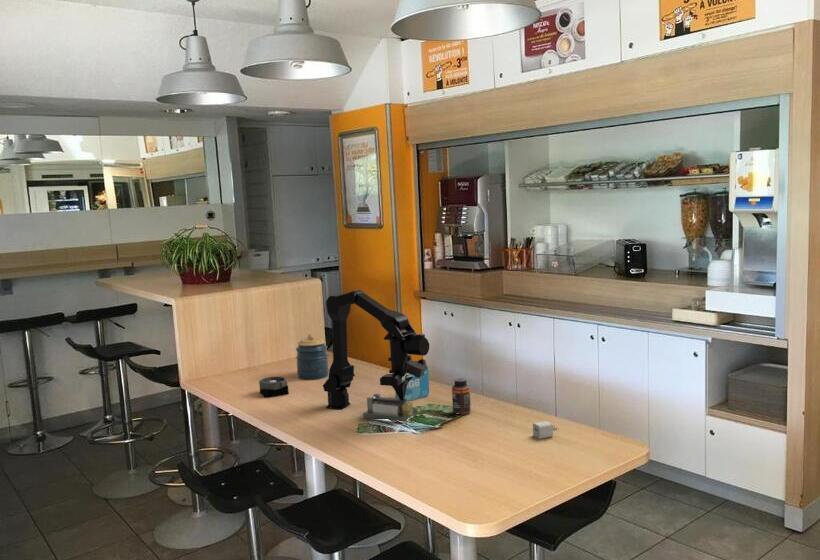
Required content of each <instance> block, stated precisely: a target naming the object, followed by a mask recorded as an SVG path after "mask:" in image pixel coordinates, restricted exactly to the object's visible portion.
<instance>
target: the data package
mask: <svg viewBox="0 0 820 560" xmlns="http://www.w3.org/2000/svg"><path fill="white" fill-rule="evenodd" d="M426 367H427V369H426V370H425V372H424V375H422V376H421V377H420V378H417V377H415V376H414V375H411V374H409V373H408V375H409V377H413V379H412V380H411V381H410V382H409V383H408V386H407V389H406V394H405V399H407V402H410V401H414V400H418V399H422V398H426V397H428V396H429V395H430V380H429V379H430V374H429V372H430V371H429V366H428V365H427V366H426ZM394 392H395V391H394ZM394 395H395V398H399V397H398V395H397V393H396V392H395V393H394Z"/></svg>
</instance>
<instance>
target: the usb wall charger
mask: <svg viewBox="0 0 820 560" xmlns="http://www.w3.org/2000/svg"><path fill="white" fill-rule="evenodd" d="M558 430H559V427H556V425H553V424H552V423H550V422H549V421H548V420H545V421H539V422H538V421H537V422H533V423H532V435H533V437H535V438H536V439H538V440H541V439H547V438H553V436H554V432H555V431H558Z"/></svg>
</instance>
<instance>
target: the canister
mask: <svg viewBox="0 0 820 560" xmlns="http://www.w3.org/2000/svg"><path fill="white" fill-rule="evenodd" d="M325 343H326V341H325V340H324V339H322V338H321V337H315V335H314V334H312V333H309V334H308V335H307V338H306V337H305V338H301V339H300V341H298V342H297V347H295V351H296V353H297V354H296V356H295V358H296V366H297V367H296V368H297V371H296V373H297V377H298V378H299V379H301V380H319V379H322V378H326V377H329V370H330V368H329V360H328V358H329V357H328V356H329V354H328V353H327V349H328V345H326V344H325Z"/></svg>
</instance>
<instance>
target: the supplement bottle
mask: <svg viewBox="0 0 820 560" xmlns="http://www.w3.org/2000/svg"><path fill="white" fill-rule="evenodd" d="M467 381H468V380H467V379H466V378H464V377H463V378H462V377H460V378H455V379H454V385H453V386H452V387H451V400H452V412H455V413H459V414H461V415H460V416H465V415H468V414H470V413H471V411H472V409H471V408H472V407H471V388H470V385H468V384H467Z"/></svg>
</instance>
